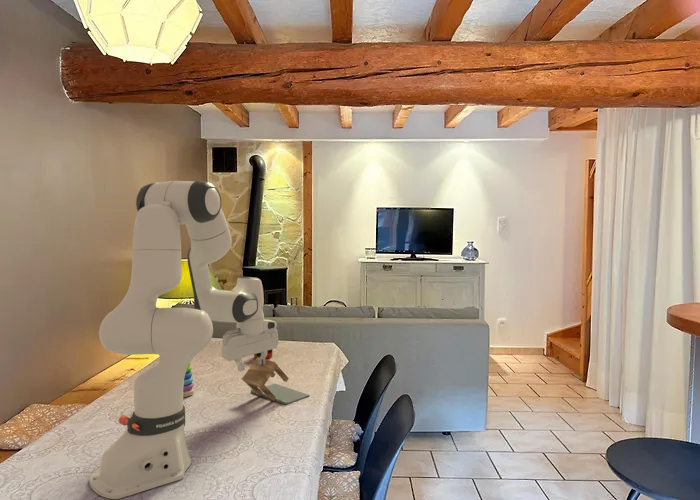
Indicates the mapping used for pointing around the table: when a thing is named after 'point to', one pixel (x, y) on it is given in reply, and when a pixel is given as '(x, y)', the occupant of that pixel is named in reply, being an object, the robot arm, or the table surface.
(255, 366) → the stool
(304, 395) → the mat
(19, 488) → the table surface
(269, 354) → the canned food
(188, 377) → the stacking toy
